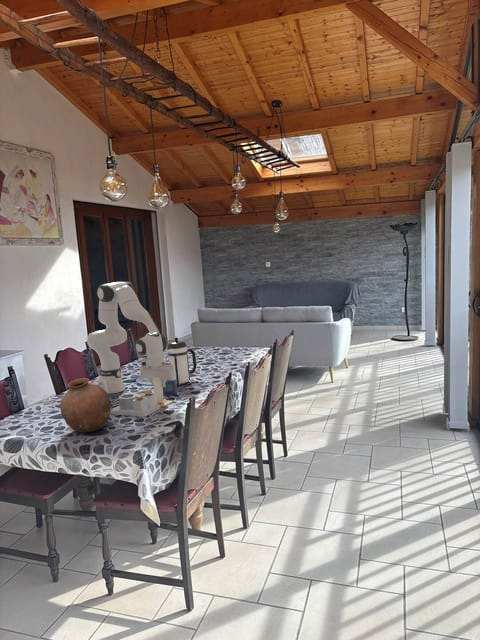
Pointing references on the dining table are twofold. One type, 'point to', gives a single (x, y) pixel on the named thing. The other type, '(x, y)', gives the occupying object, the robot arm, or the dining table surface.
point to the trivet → (164, 403)
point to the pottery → (85, 406)
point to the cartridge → (158, 389)
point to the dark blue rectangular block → (170, 387)
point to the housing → (136, 405)
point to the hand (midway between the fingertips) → (158, 386)
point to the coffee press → (180, 361)
